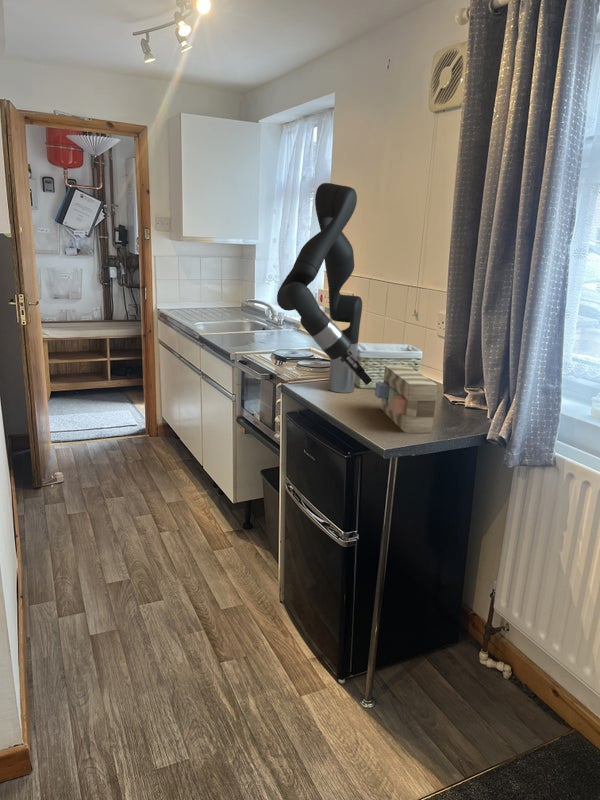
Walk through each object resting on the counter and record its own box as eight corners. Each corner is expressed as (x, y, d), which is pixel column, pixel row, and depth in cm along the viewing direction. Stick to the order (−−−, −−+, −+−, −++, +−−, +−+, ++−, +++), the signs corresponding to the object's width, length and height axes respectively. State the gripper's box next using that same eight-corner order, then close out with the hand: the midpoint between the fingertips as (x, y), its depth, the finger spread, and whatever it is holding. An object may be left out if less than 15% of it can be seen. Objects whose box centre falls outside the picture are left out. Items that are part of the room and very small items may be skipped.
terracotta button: (389, 409, 169) (391, 395, 168) (400, 409, 169) (401, 396, 168) (394, 413, 165) (395, 399, 164) (404, 413, 165) (406, 399, 164)
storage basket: (355, 389, 210) (358, 349, 207) (347, 379, 226) (350, 341, 222) (419, 391, 213) (424, 351, 209) (407, 381, 229) (411, 343, 225)
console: (380, 408, 188) (385, 365, 184) (404, 408, 189) (409, 366, 185) (404, 432, 165) (409, 384, 161) (431, 432, 166) (437, 384, 162)
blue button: (374, 394, 184) (376, 382, 183) (384, 395, 184) (385, 382, 183) (378, 398, 180) (379, 385, 179) (388, 398, 181) (389, 385, 179)
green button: (388, 401, 177) (389, 389, 175) (398, 402, 177) (399, 389, 176) (391, 405, 173) (393, 392, 172) (402, 405, 173) (403, 392, 172)
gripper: (346, 334, 160) (385, 378, 165) (335, 327, 173) (372, 368, 178) (325, 353, 160) (365, 396, 166) (317, 344, 173) (353, 385, 178)
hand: (368, 382), depth 172 cm, fingers closed
